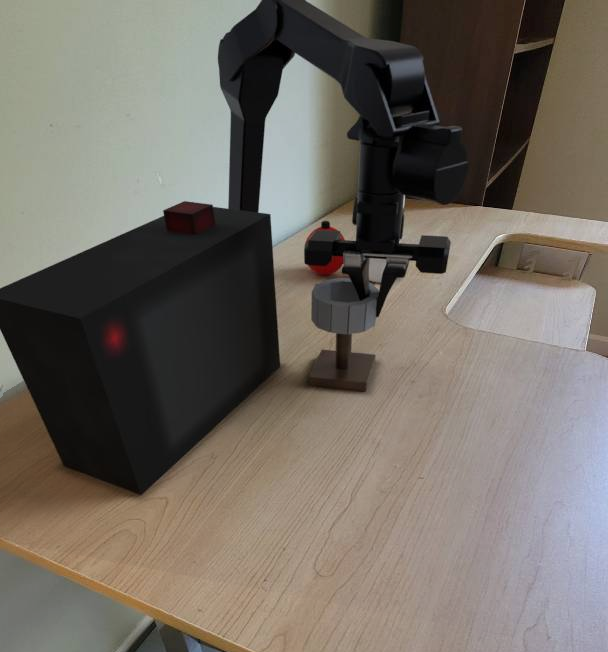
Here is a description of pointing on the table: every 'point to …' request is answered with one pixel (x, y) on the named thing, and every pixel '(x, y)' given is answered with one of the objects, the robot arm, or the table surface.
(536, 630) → the table surface
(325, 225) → the ornament
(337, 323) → the tape
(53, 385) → the speaker
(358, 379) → the stand
